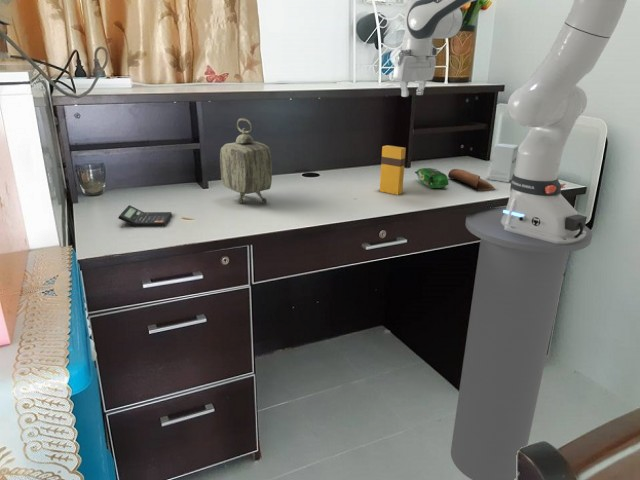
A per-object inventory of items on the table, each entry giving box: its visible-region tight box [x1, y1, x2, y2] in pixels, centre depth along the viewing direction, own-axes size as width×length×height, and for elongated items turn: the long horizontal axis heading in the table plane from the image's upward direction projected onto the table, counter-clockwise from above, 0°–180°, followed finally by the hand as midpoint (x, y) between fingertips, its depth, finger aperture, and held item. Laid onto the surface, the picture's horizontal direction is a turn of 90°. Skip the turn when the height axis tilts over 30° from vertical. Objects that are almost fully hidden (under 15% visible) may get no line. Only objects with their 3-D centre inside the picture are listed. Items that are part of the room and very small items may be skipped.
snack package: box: [414, 167, 449, 189], centre depth 177 cm, size 7×16×5 cm, turn 12°
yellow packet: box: [379, 144, 407, 195], centre depth 165 cm, size 3×7×15 cm, turn 53°
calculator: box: [117, 204, 173, 227], centre depth 136 cm, size 9×12×3 cm
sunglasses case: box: [447, 168, 496, 192], centre depth 179 cm, size 18×7×7 cm, turn 19°
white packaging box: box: [488, 143, 520, 183], centre depth 185 cm, size 7×7×13 cm
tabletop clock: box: [219, 117, 273, 204], centre depth 150 cm, size 14×9×25 cm, turn 45°
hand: (412, 95), depth 161 cm, fingers open, 8 cm apart
